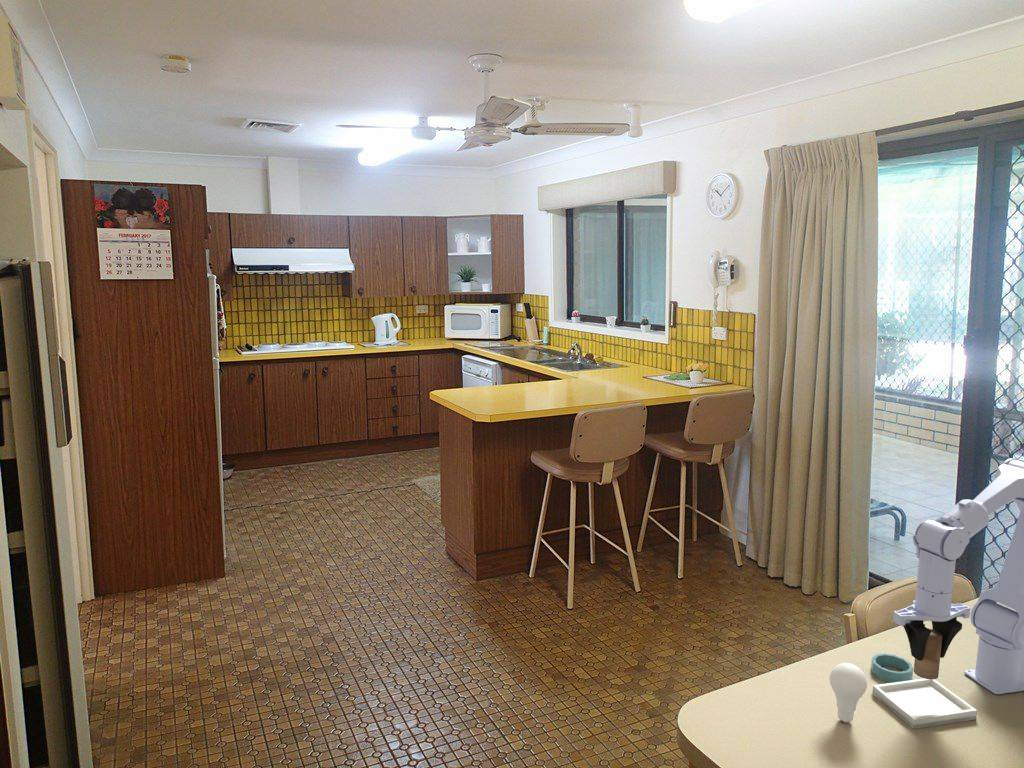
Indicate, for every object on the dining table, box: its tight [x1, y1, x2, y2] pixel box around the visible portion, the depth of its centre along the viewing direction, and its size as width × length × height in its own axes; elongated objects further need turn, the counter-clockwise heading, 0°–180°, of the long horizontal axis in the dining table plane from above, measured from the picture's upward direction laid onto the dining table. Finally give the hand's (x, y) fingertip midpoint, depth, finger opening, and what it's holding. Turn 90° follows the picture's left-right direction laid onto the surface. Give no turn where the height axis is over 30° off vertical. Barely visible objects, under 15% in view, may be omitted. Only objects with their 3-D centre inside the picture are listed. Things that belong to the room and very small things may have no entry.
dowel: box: [913, 627, 942, 680], centre depth 139 cm, size 4×4×8 cm
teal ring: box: [870, 653, 914, 683], centre depth 152 cm, size 7×7×2 cm
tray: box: [871, 678, 978, 730], centre depth 141 cm, size 13×11×2 cm
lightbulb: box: [829, 662, 868, 723], centre depth 135 cm, size 6×6×11 cm
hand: (927, 656), depth 139 cm, fingers closed on dowel, 4 cm apart
